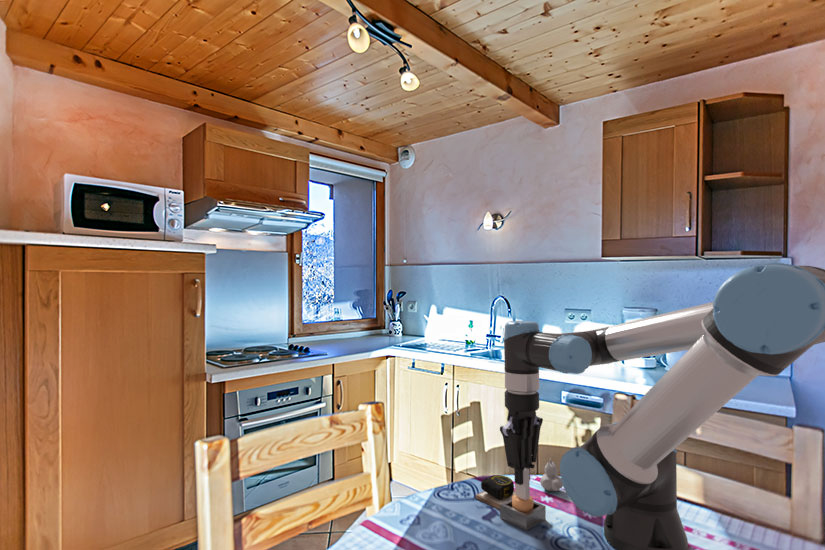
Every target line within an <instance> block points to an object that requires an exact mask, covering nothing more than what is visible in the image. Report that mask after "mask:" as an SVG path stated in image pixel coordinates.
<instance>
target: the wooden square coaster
mask: <svg viewBox="0 0 825 550" xmlns="http://www.w3.org/2000/svg"><path fill="white" fill-rule="evenodd" d="M513 495H515V490H514V492H513V494H512V496H513ZM474 496H475V498H474V499H476V500H479V501H480V502H482V503H485V504H486V505H487V504H488V505H489V506H491V507H494V508H495V509H497V510H500V504H502V503H504V502H506V501H508V500H510V499H512V496H510V497H508V498H503V499H502V500H498V499H496V498H495V497H493V496H492V495H490V494H488V493H487V492H485V491H484V490H482V491H481V492H478V493H477V494H475V495H474Z"/></svg>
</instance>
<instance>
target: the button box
mask: <svg viewBox="0 0 825 550" xmlns="http://www.w3.org/2000/svg"><path fill="white" fill-rule="evenodd" d="M499 511H500V512H499V517H500V519H502V520H503V521H505V522H507V523H510V524H512V525H514V526H516V527H518V528H520V529H522V530H524V531H529V530H530V529H532V528H534V527H535V526H537V525H539V524H541V523H543V522H544V521H546V511H547V510H546V505H544V504H542V503H539V502H537V501H534V500H533V510H532V511H530V512H528V513H526V514H525V513H523V512H521V511H518V510H516V509H514V508H512V499H510V500H508V501H506V502H504V503H502V504H500V509H499Z"/></svg>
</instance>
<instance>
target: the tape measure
mask: <svg viewBox="0 0 825 550" xmlns="http://www.w3.org/2000/svg"><path fill="white" fill-rule="evenodd" d="M480 486H481V487H480V488H481V490H482V491H485V492H487V493H488V494H490V495H492V496H493V497H495V498H496V499H498V500H502V499H503V498H508V497H510V496H512V494H513V492H514V491H515V482H513V480H512V479H511V478H510V477H509V476H506V475H501V474H494V475H491V476H489V477H487V478H484V479H483V480H482V481H481V482H480Z"/></svg>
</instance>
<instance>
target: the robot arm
mask: <svg viewBox="0 0 825 550" xmlns="http://www.w3.org/2000/svg"><path fill="white" fill-rule="evenodd" d="M822 343H825V268H823V267H818V266H812V265H794V264H788V263H780V262H771V263H762V264H757V265H754V266H749V267H747V268H744V269H741V270H739V271H737V272H735V273H734V274H732V275H731V276H729V277H728V278H726V280H725V281H723V283H722V284H721V285H720V286H719V288H718V289H717V291H716V293H715V294H714V299H713V301H712V302H707V303H702V304H698V305H694V306H691V307H690V306H689V307H686V308H681V309H677V310H673V311H669V312H665V313H661V314H657V315H653V316H647V317H644V318H640V319H636V320H631V321H627V322H623V323H619V324H614V325H611V326H605V327H601V328H597V329H592V330H586V331H575V332H566V333H565V332H564V333H553V332H551V333H550V332H542V331H540V328H539V324H538V322H537V321H531V320H509V321H507V322H506V323H505V325H504V334H503V344H504V345H503V347H504V348H503V349H504V353H503V354H504V356H503V357H504V388H505V389H506V390H505V391H504V407H505V408H506V409H507V411H508V414H507V418H506V420H507V422H506V424H505V425H500V427H499V432H500V433H501V435H502V439H503V445H504V451H505V458H506V463H507V467H509V468H511V469H513V470H514V491H515V496H516V497H519V498H521V499H523V500H527V499H529V498H530V496H531V495H530V493H531V492H530V485H531V484H530V481H531V469H533V470H534V468H535V467H536V466H535V464H536V462H537V459H538V450H539V442H540V435H541V428H542V425H543V421H544V419H543V417H539V416H537V412H536V411H538V410H539V409H540V393H539V390H540V369H541V368H542V369H545V370H550V371H555V372H560V373H562V374H574V375H578V374H580V375H581V374H583V373H584V372H585V371H586V370H587V369H589V367H593V366H599V365H607V364H608V365H609V364H612V363H618V362H623V361H628V360H634V359H640V358H647V357H653V356H658V355H665V354H671V353H678V352H684V351H686V352H685V353H684V354H683V355H682V356H681V357H680V358H679V359H678V360H677V361H676V362H675V363H674V364H673V365H672V366H670V368H669V369H668V371H666V372H665V373H664V374H663V376H662V377H661V378H660V379H659V380H657V382H656V383H655V384H654V385H653V386H651V388H650V389H649V390H648V391H647V392H646V393H645V394H644V395H643V396H641V398H640V399H639V400H638V401H637V403H635V404H634V405H633V406H632V407H631V408H630V409H629V410H628V411H627V413H625V415H624V416H622V418H620V420H619V421H616V422H613V424H611V423H606V424H603V425H601V426H600V427H599V428H598V429H597V430H596V431H595V432H594V433H593V434H592V435H591V436H590V437H589V438H588V439H587V440H586V441H585V442H584V443H582V445H580V446H575V447H572V448H570V449H569V450H568V451H566V452H564V453H563V455H562V457H561V458H560V461H559V474H560V477H561V482H562V485H563V486H562V488H563V489H564V491H565V493H566V495H567V496H568V498H569V499H570V501H571V502H572V503H573V504H574V506H576V507H577V508H578V509H579V510H580V511H582V512H583V513H586V514H588V515H589V516H592V517H595V518H597V517H604V516H605V517H604V521H603V535H604V538H605V540H606V541H607V543H608V544H610V546H612V547H613V548H614V549H616V550H689V548H688V547H689V541H688V537H687V533H686V531H685V528H684V525H683V522H682V520H681V516H680V514H679V512H678V511H679V510H678V501H677V500H678V499H677V498H678V497H677V496H678V494H677V491H678V490H677V484H678V483H677V478H678V477H677V454H678V450H677V448H678V446H680V445H681V444H682V443H683V442H684V441H685V440H687V439H688V438H689V437H690V436H691V435H692V434H693V433H694V432H696V431H697V430H698V429H699V428H700V427H701V426H703V424H705V423H706V422H707V421H708V420H709V419H710V418H711V417H713V416H714V415H715V414H716V413H717V412H718V411H719V410H721V409H722V408H723V407H724V406H725V405H726V404H727V403H729V402H730V401H731V400H732V399H733V398H734V397H736V396H737V394H739V393H740V392H741V391H742V390H743V389H744V388H745V387H747V386H748V385H749V384H750V383H751V382H752V381H754V379H756V378H757V377H758V376H762V377H777V376H779V375H780V374H781V373H782V372H783V371H784V370H785V369H787V368H788V367H789V366H791V364H793V363H794V362H795V361H796V360H797V359H799V358H800V357H801V356H803V354H805V353H806V352H807V351H808V350H809V349H810V348H812V347H813V346H814V345H817V344H822ZM533 463H535V464H533Z"/></svg>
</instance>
